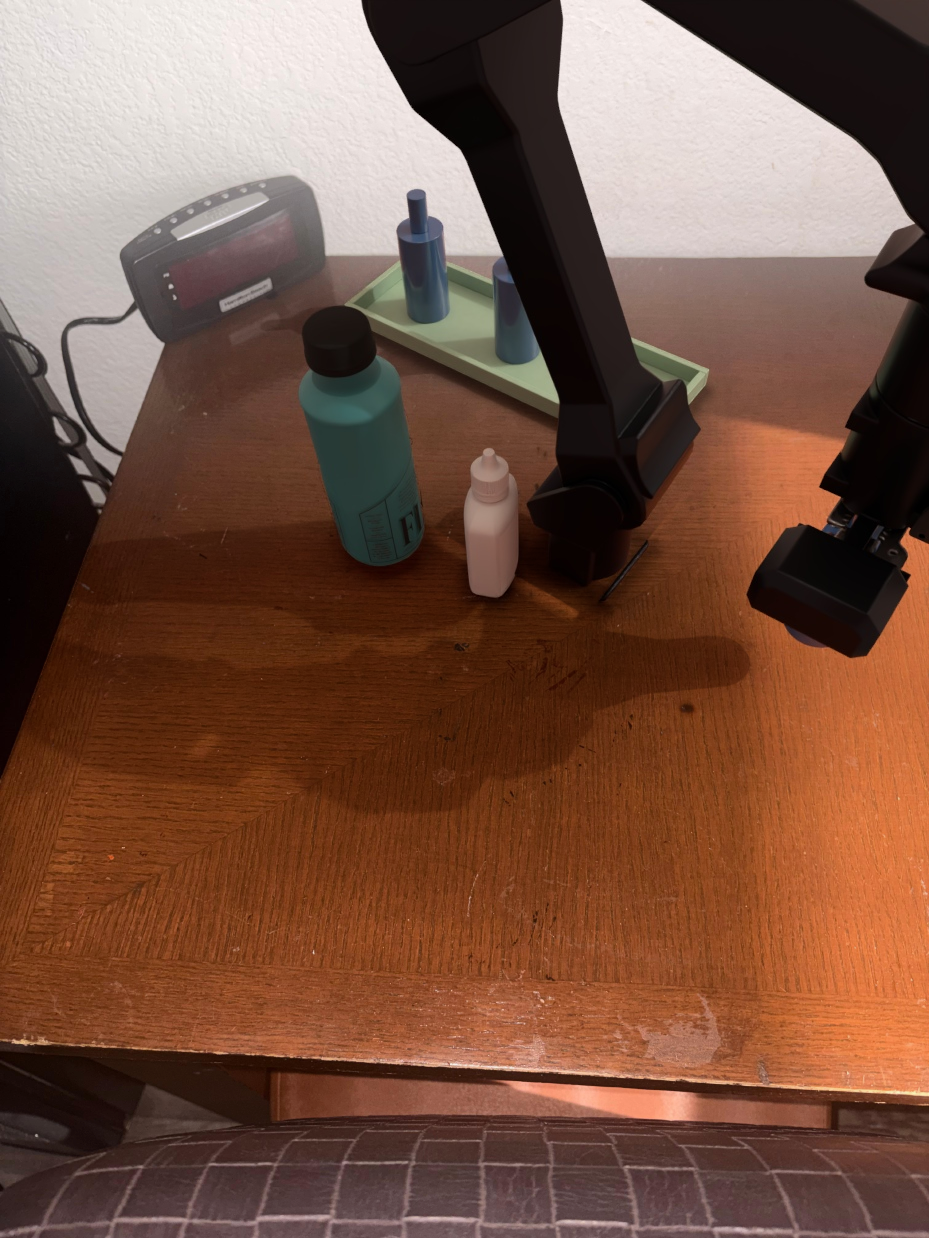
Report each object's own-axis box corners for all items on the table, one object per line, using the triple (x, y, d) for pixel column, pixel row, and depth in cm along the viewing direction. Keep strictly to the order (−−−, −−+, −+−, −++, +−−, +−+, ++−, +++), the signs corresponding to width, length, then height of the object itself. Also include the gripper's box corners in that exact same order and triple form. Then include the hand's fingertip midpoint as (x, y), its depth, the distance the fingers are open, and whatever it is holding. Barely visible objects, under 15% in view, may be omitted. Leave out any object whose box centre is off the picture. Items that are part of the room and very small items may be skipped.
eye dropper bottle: (541, 560, 62) (545, 443, 52) (490, 608, 60) (484, 495, 50) (497, 530, 64) (493, 411, 54) (446, 576, 62) (431, 461, 52)
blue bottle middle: (523, 370, 72) (523, 254, 63) (485, 353, 74) (480, 237, 65) (549, 345, 74) (553, 228, 65) (512, 329, 76) (510, 212, 66)
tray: (641, 465, 67) (645, 444, 65) (347, 325, 78) (343, 304, 76) (704, 391, 71) (709, 369, 69) (416, 269, 82) (414, 247, 81)
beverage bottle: (417, 586, 62) (378, 368, 45) (330, 574, 63) (260, 356, 46) (437, 518, 65) (407, 291, 48) (354, 508, 66) (297, 283, 49)
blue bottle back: (431, 329, 76) (419, 213, 67) (397, 314, 78) (381, 198, 68) (458, 305, 78) (450, 189, 69) (425, 291, 79) (412, 175, 70)
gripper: (1070, 618, 31) (907, 783, 44) (1197, 337, 38) (1026, 549, 51) (784, 488, 35) (712, 675, 48) (950, 258, 43) (849, 473, 56)
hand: (834, 590), depth 51 cm, fingers closed on blue bottle front, 4 cm apart
